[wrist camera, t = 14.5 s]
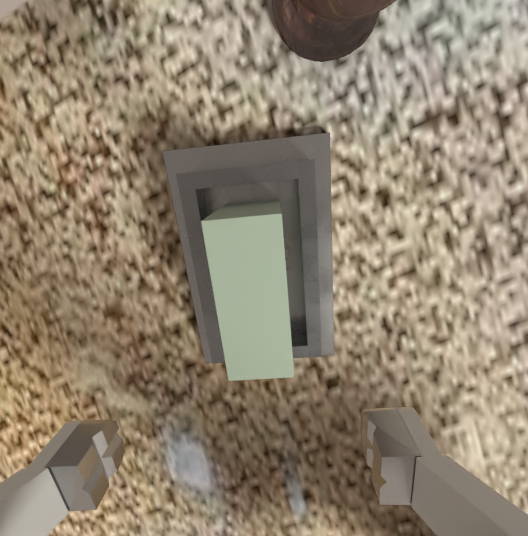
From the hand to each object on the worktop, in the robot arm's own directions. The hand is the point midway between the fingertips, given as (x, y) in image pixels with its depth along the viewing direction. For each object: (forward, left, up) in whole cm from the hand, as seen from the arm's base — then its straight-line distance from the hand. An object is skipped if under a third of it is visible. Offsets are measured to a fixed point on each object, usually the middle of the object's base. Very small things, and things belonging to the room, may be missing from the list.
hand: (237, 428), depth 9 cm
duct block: (0, 0, -16) cm, 16 cm away
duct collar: (0, 0, -17) cm, 17 cm away
